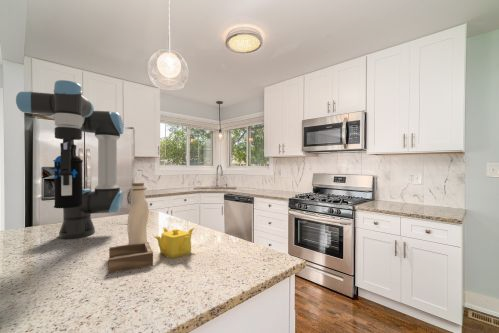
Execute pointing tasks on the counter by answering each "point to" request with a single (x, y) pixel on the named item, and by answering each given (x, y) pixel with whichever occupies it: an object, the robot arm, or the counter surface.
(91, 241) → the counter surface
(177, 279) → the counter surface
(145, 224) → the water bottle
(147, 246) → the u rest
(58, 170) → the aerosol can
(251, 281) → the counter surface
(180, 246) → the teapot
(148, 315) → the counter surface
